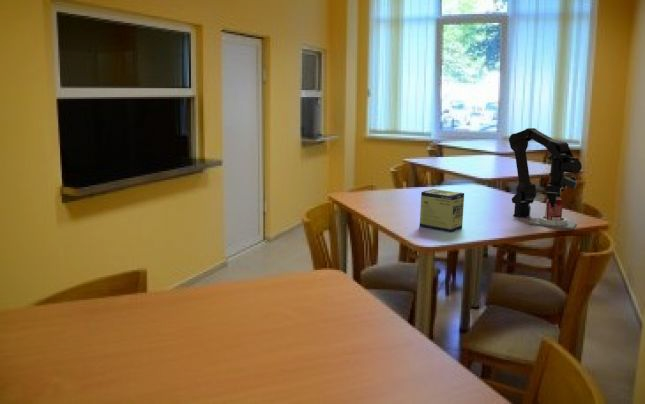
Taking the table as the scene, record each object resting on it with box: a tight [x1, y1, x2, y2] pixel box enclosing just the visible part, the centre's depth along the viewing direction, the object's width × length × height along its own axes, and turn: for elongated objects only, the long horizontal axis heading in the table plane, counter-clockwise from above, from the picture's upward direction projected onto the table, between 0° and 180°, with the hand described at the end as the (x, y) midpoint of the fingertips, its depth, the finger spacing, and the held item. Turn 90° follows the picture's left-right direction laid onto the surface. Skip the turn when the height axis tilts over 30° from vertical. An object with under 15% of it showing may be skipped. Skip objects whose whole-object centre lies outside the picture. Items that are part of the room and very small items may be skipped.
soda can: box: [544, 197, 564, 221], centre depth 261 cm, size 7×7×12 cm
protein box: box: [419, 189, 465, 233], centre depth 251 cm, size 10×16×16 cm
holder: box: [528, 215, 577, 231], centre depth 261 cm, size 18×12×3 cm, turn 59°
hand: (554, 205), depth 260 cm, fingers open, 9 cm apart
